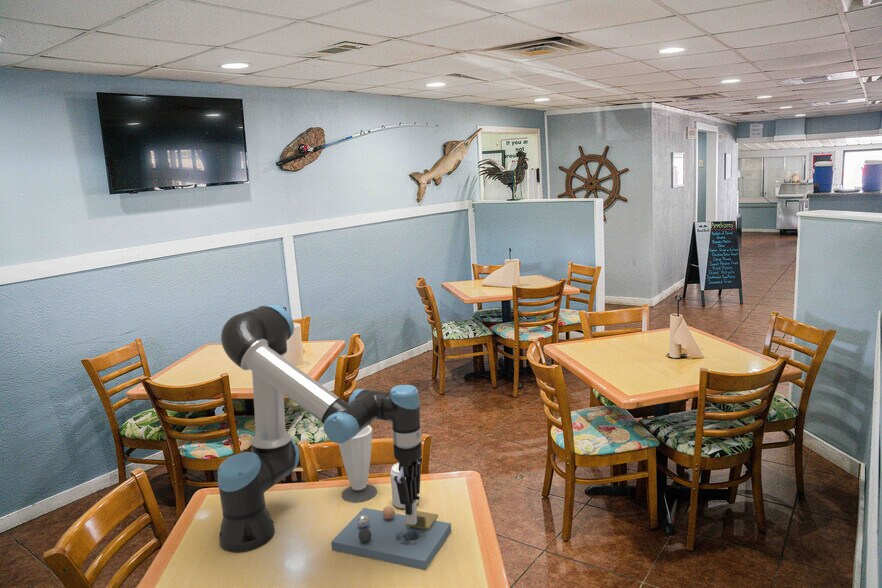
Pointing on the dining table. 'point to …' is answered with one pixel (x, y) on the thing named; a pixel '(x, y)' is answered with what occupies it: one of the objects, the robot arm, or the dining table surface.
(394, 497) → the beverage can
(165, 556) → the dining table surface
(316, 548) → the dining table surface
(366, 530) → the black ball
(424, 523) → the brass cover
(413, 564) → the grey flat board
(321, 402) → the robot arm
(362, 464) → the cup
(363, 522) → the steel ball
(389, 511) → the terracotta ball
